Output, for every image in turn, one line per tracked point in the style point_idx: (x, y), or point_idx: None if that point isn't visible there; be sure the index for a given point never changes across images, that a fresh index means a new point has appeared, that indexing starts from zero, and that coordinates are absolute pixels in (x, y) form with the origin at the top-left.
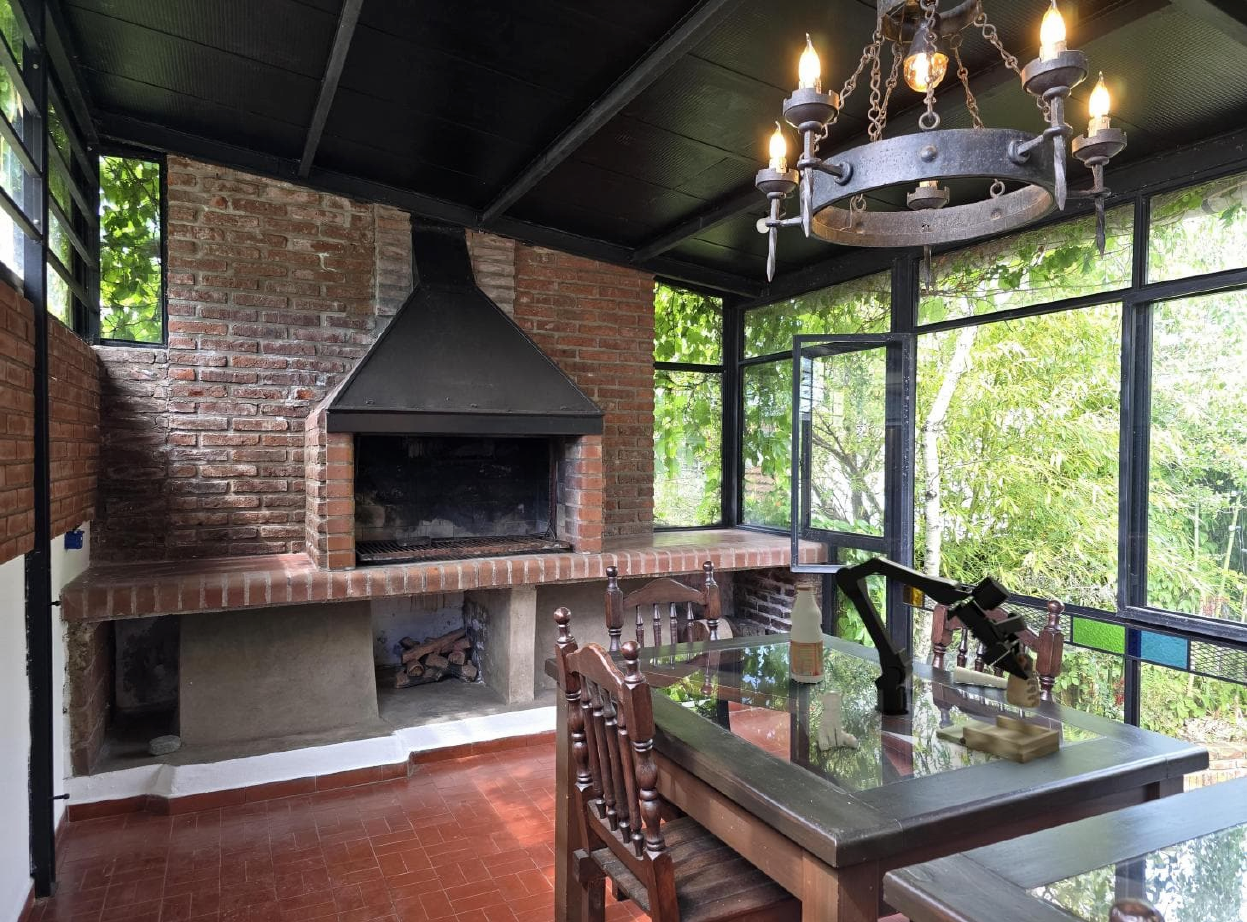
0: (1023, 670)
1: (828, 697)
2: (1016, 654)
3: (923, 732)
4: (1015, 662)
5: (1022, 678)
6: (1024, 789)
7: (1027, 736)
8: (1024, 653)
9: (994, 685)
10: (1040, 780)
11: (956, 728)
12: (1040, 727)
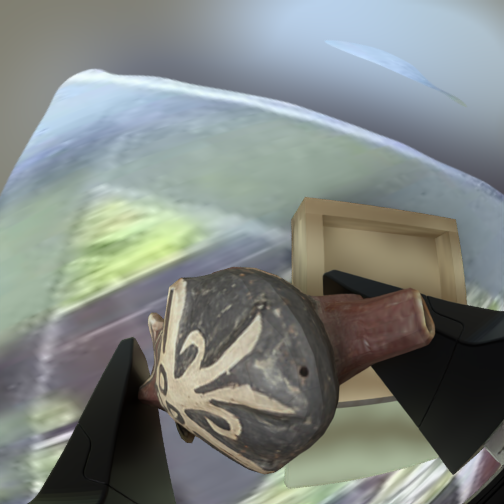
0: (377, 286)
1: None
2: (320, 437)
3: (426, 484)
4: (466, 310)
5: None
6: (487, 189)
7: None
8: (307, 332)
9: None
10: (453, 184)
11: (394, 453)
12: (316, 248)
